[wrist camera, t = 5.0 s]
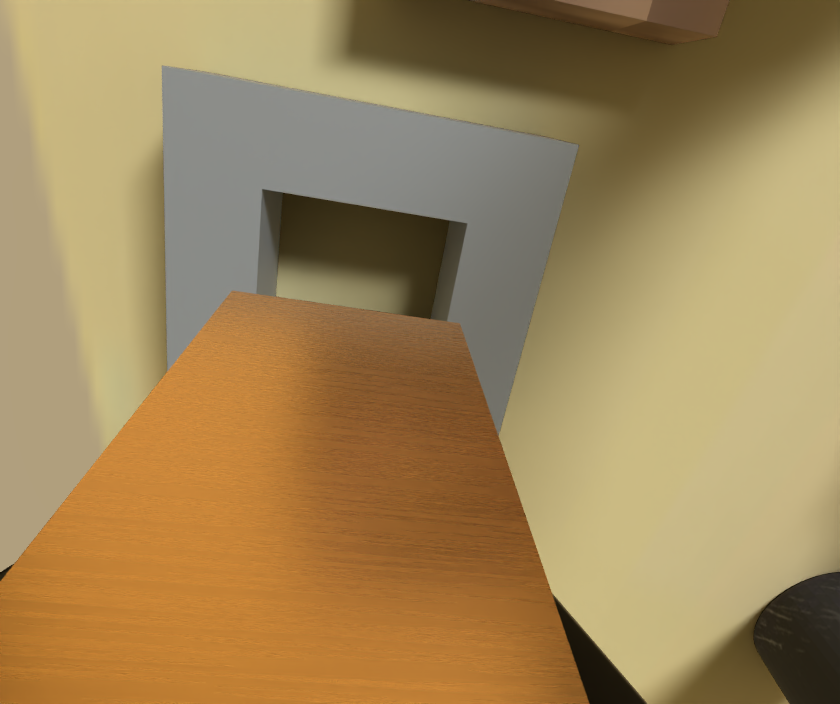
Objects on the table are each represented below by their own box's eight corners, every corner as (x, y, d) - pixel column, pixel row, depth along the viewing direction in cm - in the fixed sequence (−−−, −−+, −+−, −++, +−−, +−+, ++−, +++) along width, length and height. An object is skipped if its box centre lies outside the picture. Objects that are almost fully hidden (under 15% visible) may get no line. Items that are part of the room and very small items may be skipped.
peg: (459, 323, 10) (831, 1413, 2) (420, 498, 11) (512, 1488, 3) (231, 290, 9) (-836, 1631, 1) (224, 478, 11) (-242, 1592, 3)
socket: (544, 136, 18) (579, 144, 14) (474, 415, 22) (489, 469, 19) (205, 71, 16) (161, 65, 13) (201, 382, 21) (168, 433, 17)
